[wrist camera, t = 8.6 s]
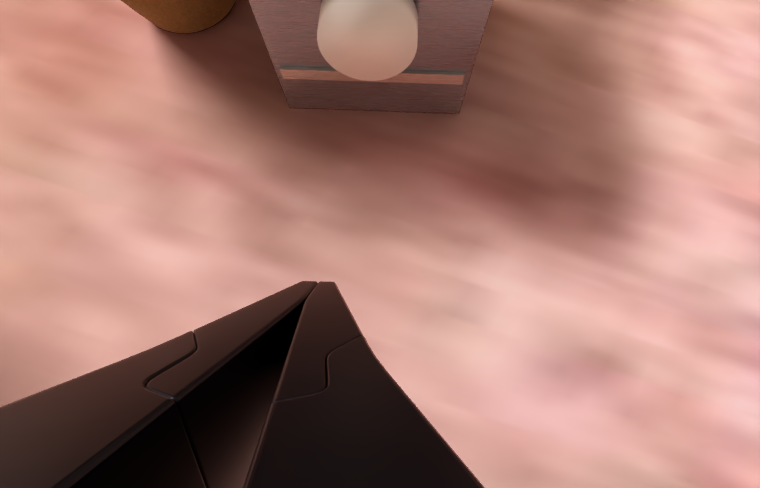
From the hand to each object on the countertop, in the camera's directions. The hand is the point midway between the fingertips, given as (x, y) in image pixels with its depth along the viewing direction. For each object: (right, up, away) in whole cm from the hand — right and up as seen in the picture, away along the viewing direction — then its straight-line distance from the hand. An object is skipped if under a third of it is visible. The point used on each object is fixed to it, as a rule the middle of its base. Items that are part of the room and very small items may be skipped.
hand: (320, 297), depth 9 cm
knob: (+1, +17, +14) cm, 22 cm away
